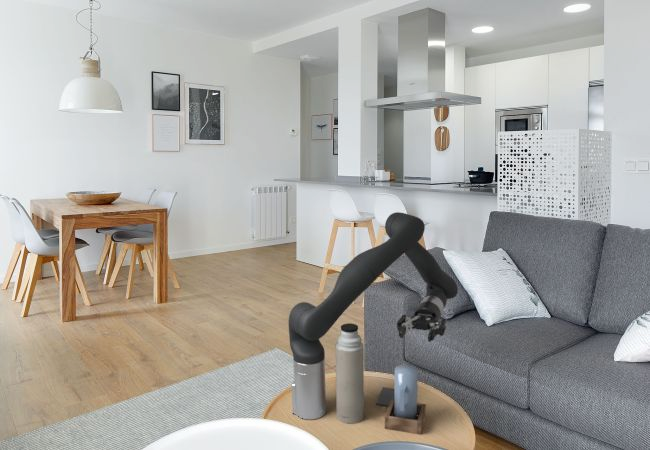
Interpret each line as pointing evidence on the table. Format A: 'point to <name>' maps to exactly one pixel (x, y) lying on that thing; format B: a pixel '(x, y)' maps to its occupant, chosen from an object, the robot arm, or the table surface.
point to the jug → (405, 392)
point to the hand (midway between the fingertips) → (414, 337)
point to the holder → (405, 420)
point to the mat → (385, 396)
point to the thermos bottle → (349, 375)
